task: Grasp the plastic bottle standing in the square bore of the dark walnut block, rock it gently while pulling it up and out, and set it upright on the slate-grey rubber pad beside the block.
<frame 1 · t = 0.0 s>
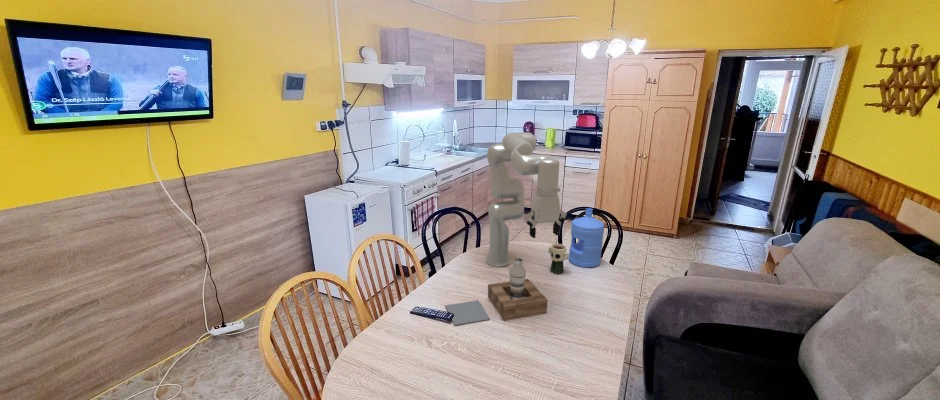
hand: (544, 235, 151), 31 cm above the table, fingers open, 9 cm apart
bore block: (516, 304, 162), on the table
character mug: (556, 271, 192), on the table
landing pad: (467, 313, 156), on the table
plastic bottle: (516, 305, 162), resting in bore block
water jug: (584, 261, 203), on the table
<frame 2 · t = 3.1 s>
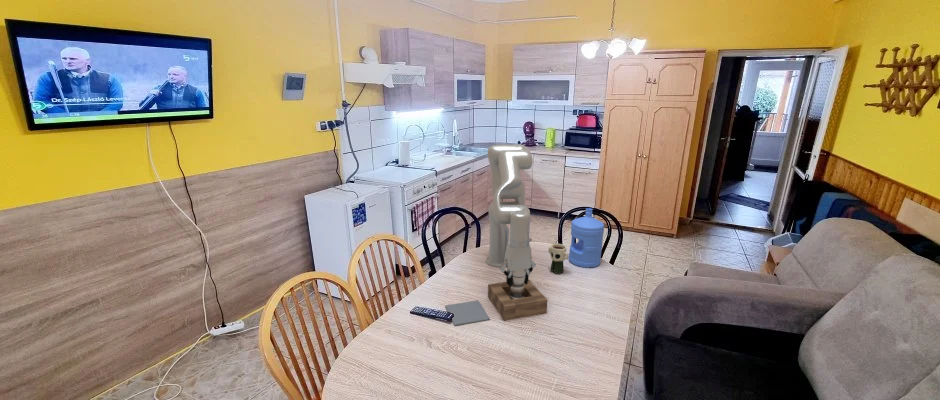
hand: (517, 283, 160), 10 cm above the table, fingers closed on plastic bottle, 6 cm apart
plastic bottle: (516, 305, 162), resting in bore block, touching gripper
everything else where it was.
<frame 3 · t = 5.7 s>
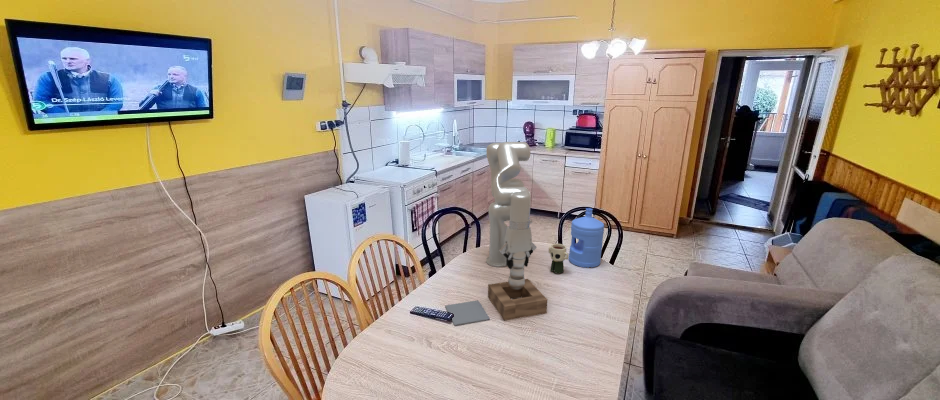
hand: (517, 266, 158), 17 cm above the table, fingers closed on plastic bottle, 6 cm apart
plastic bottle: (516, 287, 161), point 7 cm above the table, touching gripper
everything else where it was.
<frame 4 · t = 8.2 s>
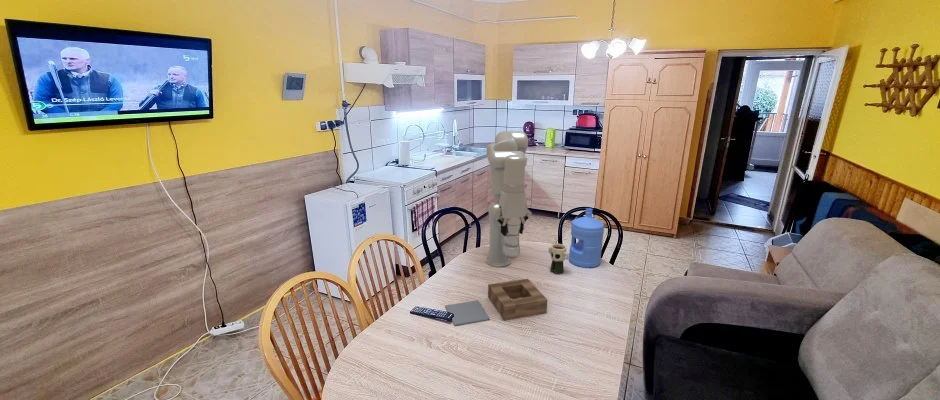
hand: (512, 233, 153), 31 cm above the table, fingers closed on plastic bottle, 6 cm apart
plastic bottle: (511, 256, 155), point 22 cm above the table, touching gripper
everything else where it was.
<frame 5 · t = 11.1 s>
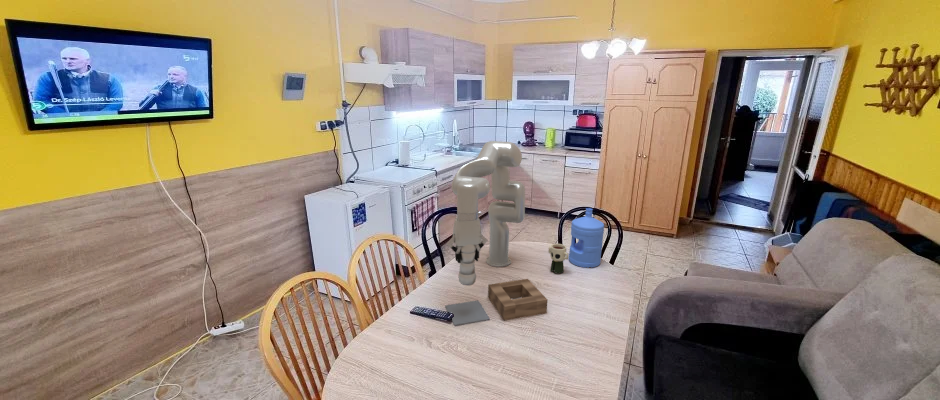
hand: (467, 260, 150), 23 cm above the table, fingers closed on plastic bottle, 6 cm apart
plastic bottle: (467, 284, 152), point 13 cm above the table, touching gripper
everything else where it was.
when the fingers open (11 cm above the table, at t = 13.6 s): plastic bottle drops 1 cm, resting on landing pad.
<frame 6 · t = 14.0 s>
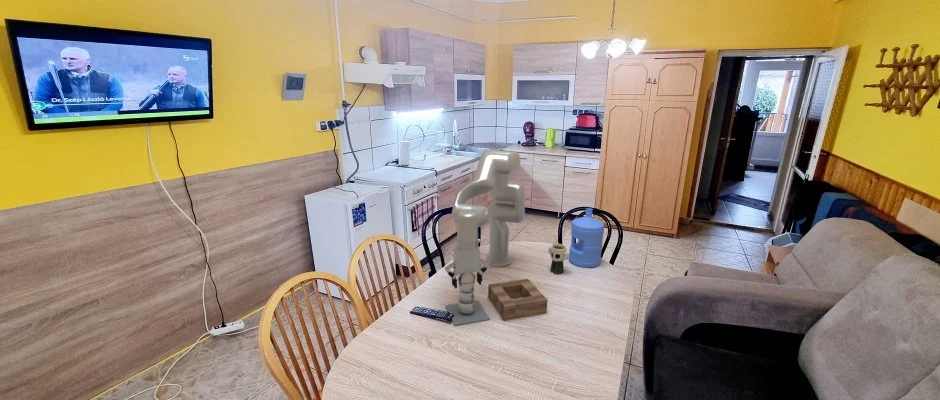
hand: (467, 285, 153), 12 cm above the table, fingers open, 9 cm apart
plastic bottle: (466, 312, 156), resting on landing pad
everything else where it was.
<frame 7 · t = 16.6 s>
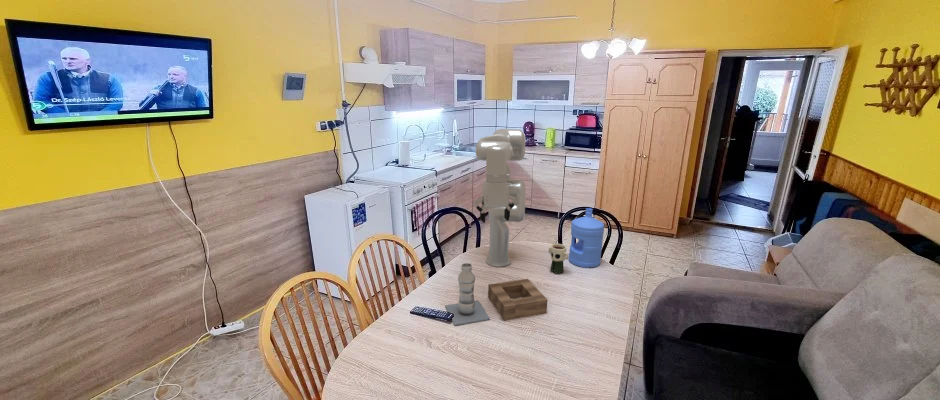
hand: (494, 220, 155), 35 cm above the table, fingers open, 9 cm apart
nothing on the table moved.
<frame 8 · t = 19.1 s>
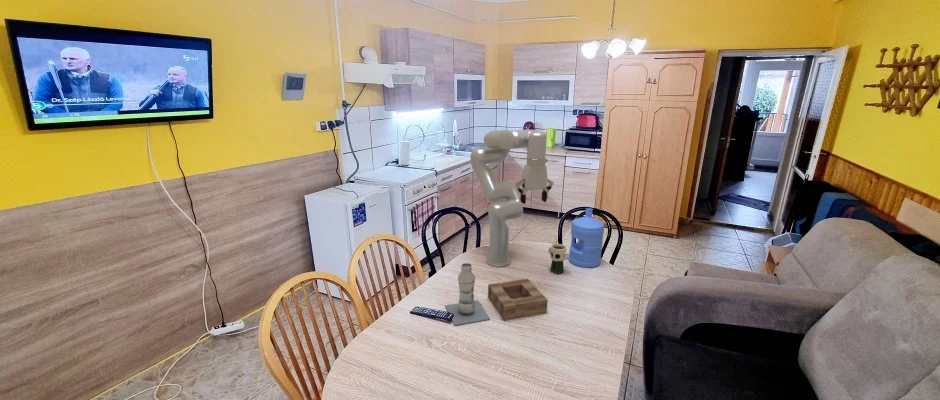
hand: (533, 202, 169), 38 cm above the table, fingers open, 9 cm apart
nothing on the table moved.
at the end: plastic bottle inside the target area on the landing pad (0.2 cm from its centre), point 0.4 cm above the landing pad's base; plastic bottle tilted 0°; plastic bottle touching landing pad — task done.
